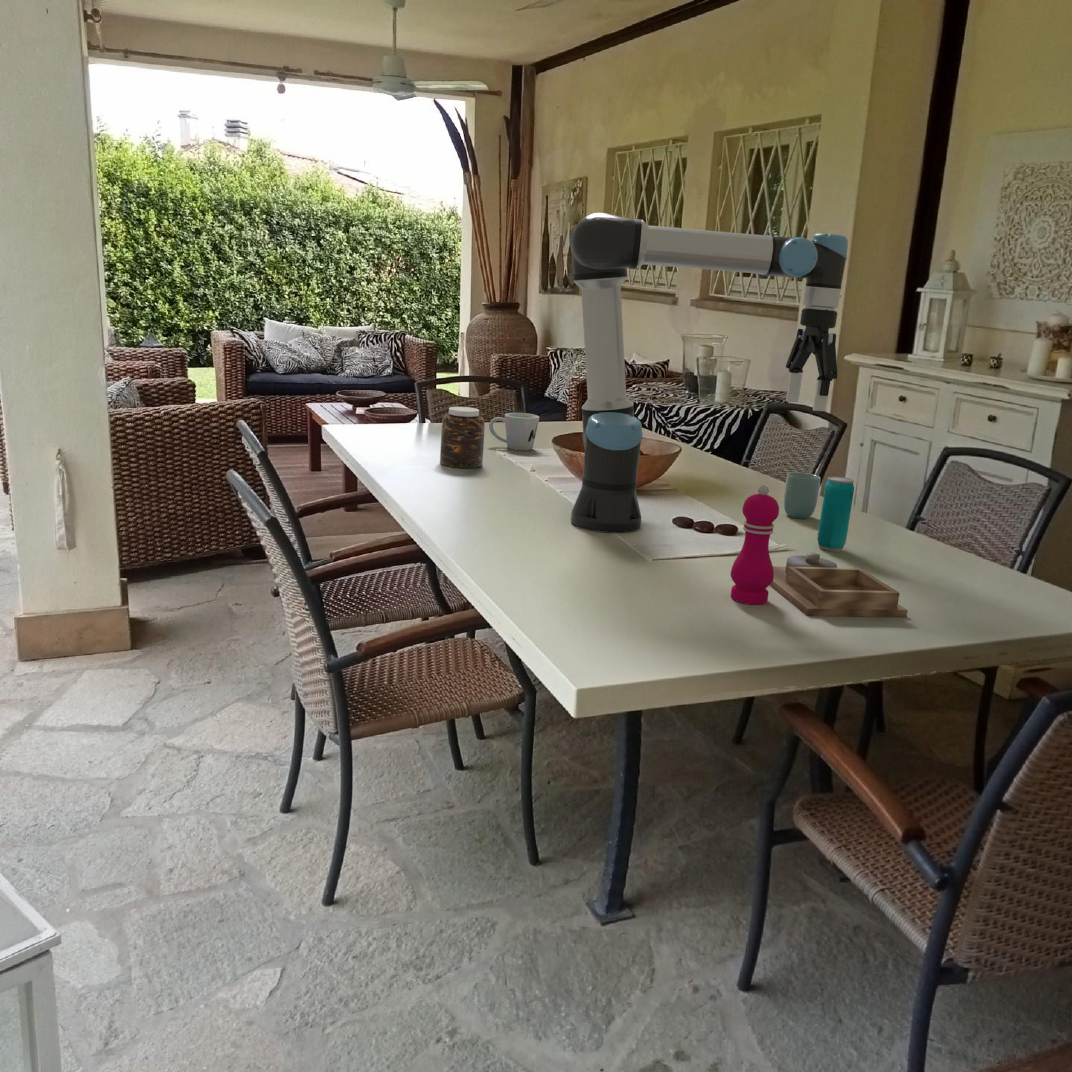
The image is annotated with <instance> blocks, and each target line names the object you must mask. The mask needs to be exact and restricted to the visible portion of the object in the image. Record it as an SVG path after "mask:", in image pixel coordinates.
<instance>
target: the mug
mask: <svg viewBox="0 0 1072 1072" xmlns="http://www.w3.org/2000/svg"><path fill="white" fill-rule="evenodd" d="M539 421H540V416H539V415H536V414H533V413H528V412H527V413H526V412H508V413H505V414H504V417H501V416H496V417H493V418H492V419H491V420H490V422H489V423H488V427H489V431H490V433H491V434H492V436H493V437H494V438H495V439H497V440H498V441H500V442H503V443H505V444H506V446H507V448H508V449H510V450H513V449H517V450H516V451H523V450H524V451H530V450H529V449H531V450H533V449H534V443H535V439H536V435H537V430H538V428H539V427H538V425H539ZM496 422H502V423H504V424H505V435H506V436H505V437H506V438H504V437H502V436H500V435H499V434H498V433H497V432H496V431H495V430H494V424H495V423H496Z"/></svg>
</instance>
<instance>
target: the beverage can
mask: <svg viewBox="0 0 1072 1072" xmlns="http://www.w3.org/2000/svg"><path fill="white" fill-rule="evenodd" d="M854 482H855V480H854V479H853V478H849V477H845V476H835V475H834V476H828V477H827V481H826V483H825V485H824V486H825V487H824V492H823V499H822V504H821V505H822V506H821V511H820V520H819V524H818V525H819V526H818V532H817V539H816V540H817V544H818V547H819V549H821V550H823V551H826V552H827V551H828V552H831V553H832V552H835V553H837V552H841V551H842V550H843V549H844V547H845V545H846V543H847V538H848V536H847V535H848V530H849V526H850V525H849V523H850V517H851V512H852V506H853V498H854V492H855V484H854Z"/></svg>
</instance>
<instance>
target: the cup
mask: <svg viewBox="0 0 1072 1072" xmlns="http://www.w3.org/2000/svg"><path fill="white" fill-rule="evenodd" d="M821 478H822V477H820V476H819V475H818V474H814V473H807V472H801V471H800V472H799V471H798V472H797V471H793V472H792V471H791V472H788V473H786V480H785V485H784V486H785V487H784V495H783V507H784V508H783V509H784V512H785V514H786V515H787V516H789V517H791V518H794V519H795V518H796V519H802V520H803V519H809V518H811V517H812V515H813V514H814V513H815V510H816V507H817V504H818V500H819V493H820V485H821Z"/></svg>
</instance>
